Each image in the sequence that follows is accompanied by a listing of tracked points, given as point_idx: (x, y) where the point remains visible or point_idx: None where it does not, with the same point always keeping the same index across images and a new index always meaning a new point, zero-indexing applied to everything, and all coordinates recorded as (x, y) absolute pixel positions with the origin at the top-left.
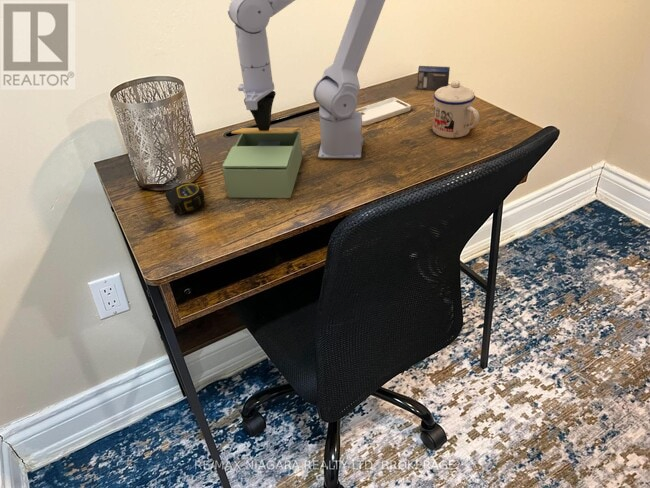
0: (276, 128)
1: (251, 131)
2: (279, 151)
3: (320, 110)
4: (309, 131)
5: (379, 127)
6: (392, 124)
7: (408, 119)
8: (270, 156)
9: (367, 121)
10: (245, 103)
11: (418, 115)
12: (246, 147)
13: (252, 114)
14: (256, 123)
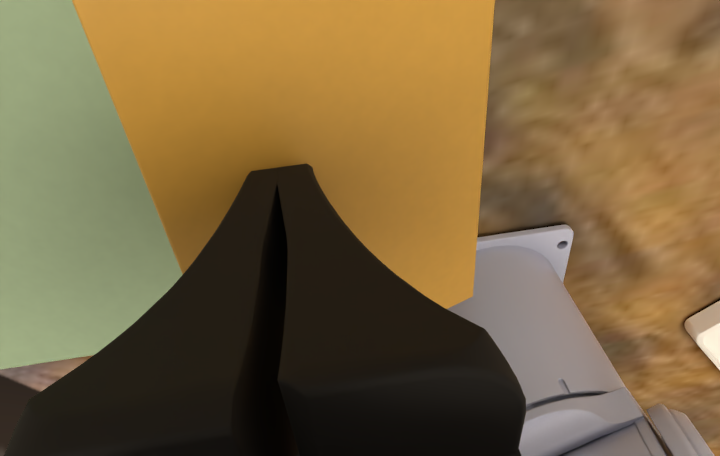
0: (426, 203)
1: (134, 155)
2: (117, 295)
3: (575, 419)
4: (712, 134)
5: (655, 360)
6: (666, 384)
7: (687, 409)
8: (21, 271)
9: (695, 341)
10: (11, 438)
11: (706, 423)
12: (75, 48)
13: (174, 284)
14: (231, 208)
